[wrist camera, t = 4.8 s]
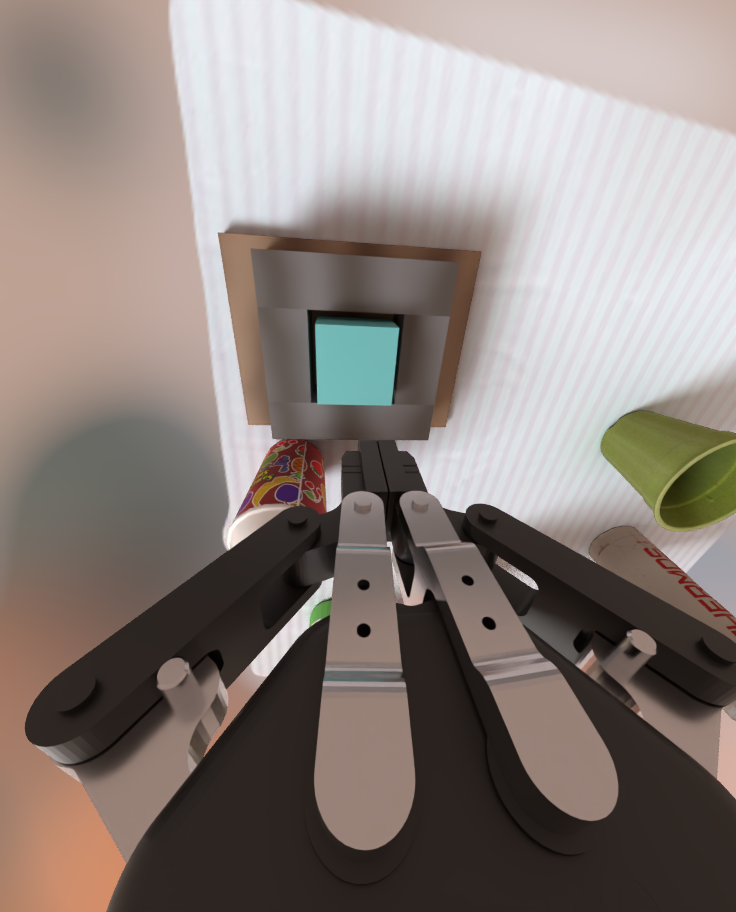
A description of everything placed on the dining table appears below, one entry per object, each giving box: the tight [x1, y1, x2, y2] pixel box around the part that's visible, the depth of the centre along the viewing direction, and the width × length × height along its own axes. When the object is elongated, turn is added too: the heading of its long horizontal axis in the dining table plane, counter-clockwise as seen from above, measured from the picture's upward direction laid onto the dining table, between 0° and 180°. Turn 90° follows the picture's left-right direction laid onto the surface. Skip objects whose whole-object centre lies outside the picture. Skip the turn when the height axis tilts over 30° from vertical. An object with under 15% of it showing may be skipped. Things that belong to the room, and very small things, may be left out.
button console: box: [218, 233, 481, 440], centre depth 29 cm, size 22×17×6 cm
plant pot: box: [601, 411, 736, 532], centre depth 36 cm, size 12×12×11 cm
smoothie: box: [226, 439, 327, 550], centre depth 30 cm, size 8×8×20 cm
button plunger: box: [315, 316, 399, 406], centre depth 26 cm, size 6×6×4 cm
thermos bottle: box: [589, 526, 736, 720], centre depth 40 cm, size 8×8×28 cm
